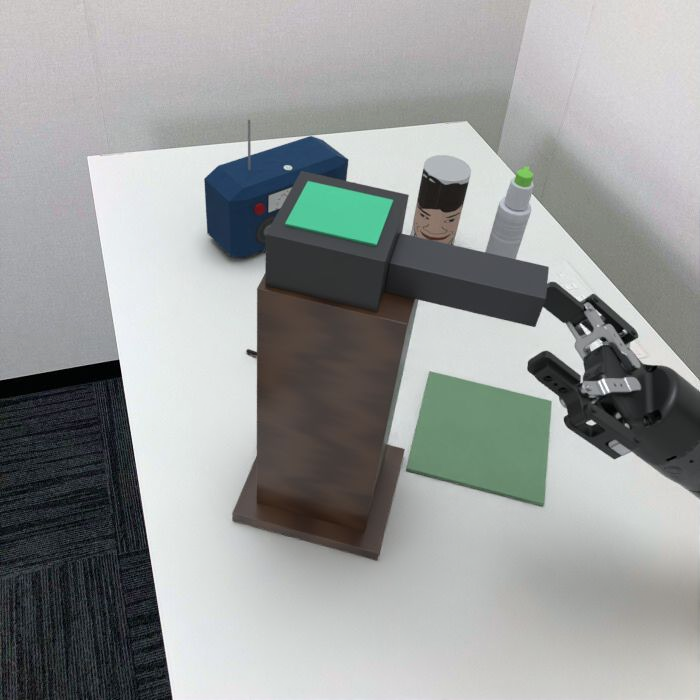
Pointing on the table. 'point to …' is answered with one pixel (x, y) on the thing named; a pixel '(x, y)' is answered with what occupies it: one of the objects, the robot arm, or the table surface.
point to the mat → (482, 438)
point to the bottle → (512, 216)
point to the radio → (261, 190)
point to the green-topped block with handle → (387, 256)
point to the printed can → (441, 198)
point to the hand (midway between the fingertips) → (539, 322)
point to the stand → (326, 418)
